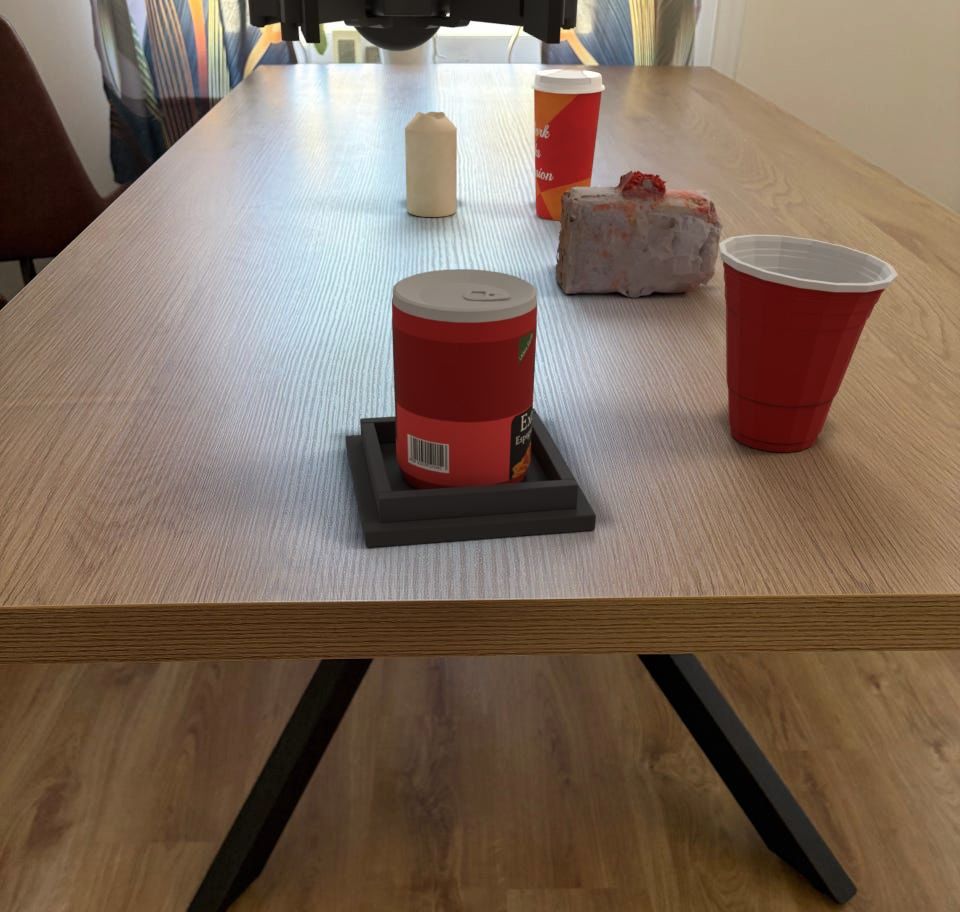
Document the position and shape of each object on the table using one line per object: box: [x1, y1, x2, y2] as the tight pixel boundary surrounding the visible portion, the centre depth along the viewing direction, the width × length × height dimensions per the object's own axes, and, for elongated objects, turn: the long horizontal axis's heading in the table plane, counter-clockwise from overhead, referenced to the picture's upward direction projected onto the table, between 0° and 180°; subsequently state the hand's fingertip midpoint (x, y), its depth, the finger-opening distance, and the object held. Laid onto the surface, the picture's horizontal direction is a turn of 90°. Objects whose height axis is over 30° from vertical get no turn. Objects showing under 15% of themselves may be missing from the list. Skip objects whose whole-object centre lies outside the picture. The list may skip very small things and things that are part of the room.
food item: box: [555, 170, 724, 299], centre depth 99 cm, size 14×8×10 cm, turn 95°
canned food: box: [391, 268, 538, 490], centre depth 64 cm, size 8×8×11 cm
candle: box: [404, 111, 458, 218], centre depth 121 cm, size 6×6×10 cm
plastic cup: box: [718, 234, 899, 453], centre depth 71 cm, size 11×11×12 cm
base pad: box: [345, 407, 597, 548], centre depth 67 cm, size 13×13×2 cm
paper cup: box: [530, 68, 606, 221], centre depth 120 cm, size 8×8×14 cm
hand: (435, 16), depth 62 cm, fingers open, 13 cm apart
